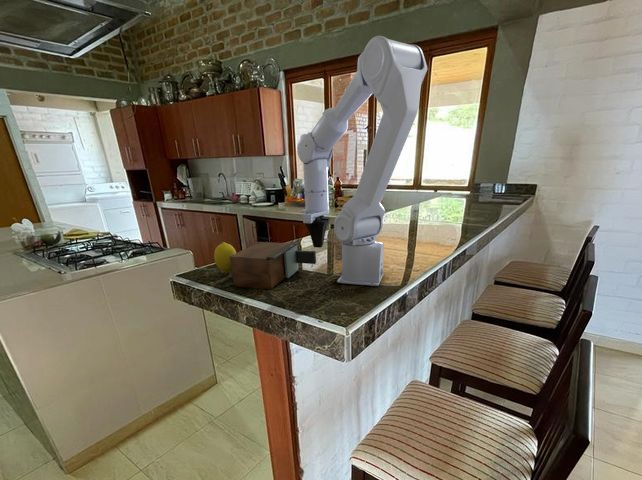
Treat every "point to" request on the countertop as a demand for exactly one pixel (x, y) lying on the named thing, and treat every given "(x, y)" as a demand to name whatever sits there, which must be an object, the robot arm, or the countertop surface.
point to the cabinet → (260, 265)
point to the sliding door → (297, 259)
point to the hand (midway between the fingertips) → (318, 246)
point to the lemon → (224, 256)
